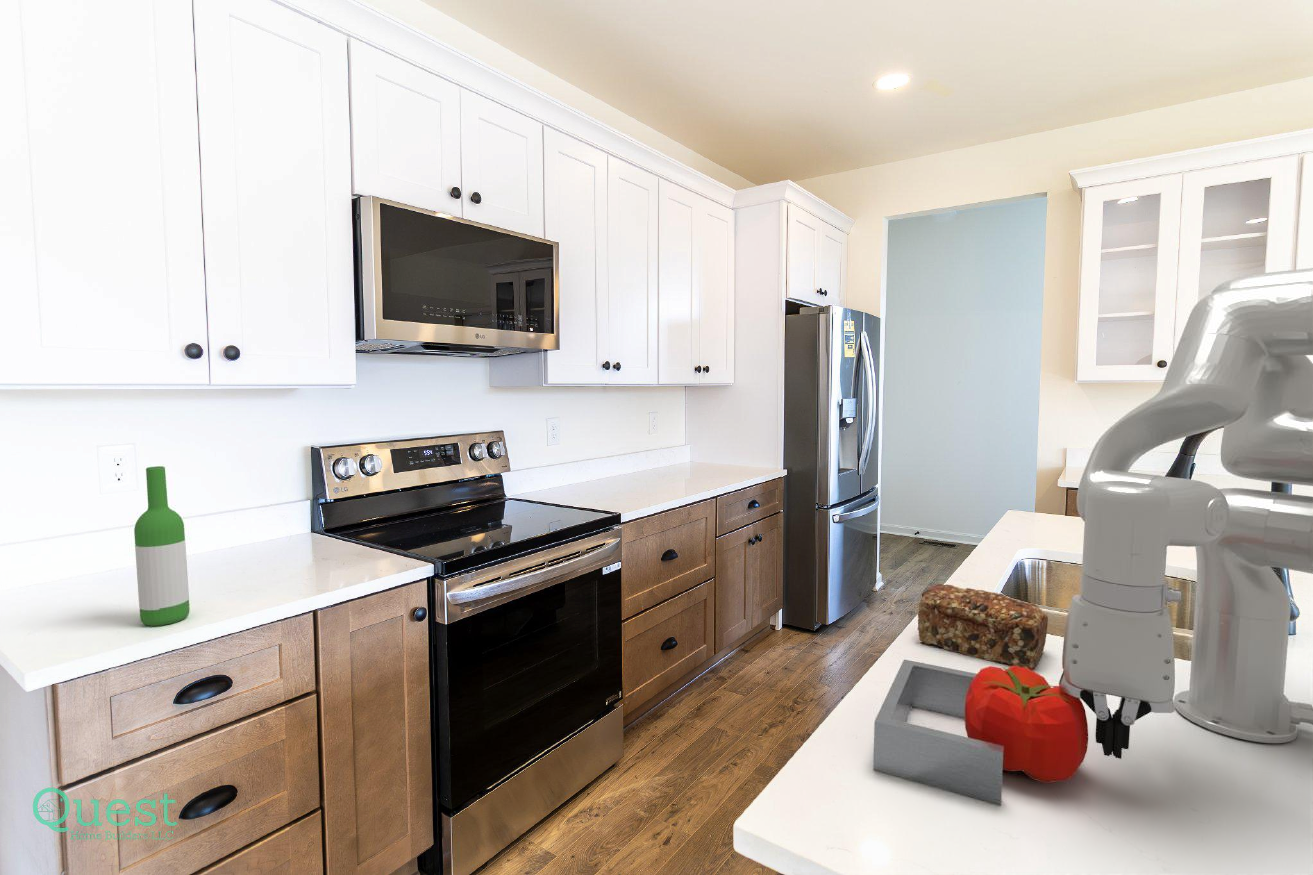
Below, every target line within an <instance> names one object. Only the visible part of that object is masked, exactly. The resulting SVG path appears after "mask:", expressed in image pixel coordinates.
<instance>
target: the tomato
mask: <svg viewBox="0 0 1313 875" xmlns="http://www.w3.org/2000/svg"><path fill="white" fill-rule="evenodd" d="M976 674H977V675H976V676H975V677H974V679H973V681H972V682H971V684H970V687H969V689H968V692H967V695H966V702H965V718H964V726H965V727H964V728H965V731H966V735H967V736H966V737H968V738H972V739H976V740H980V741H984V742H989V743H993V744H997V745H1001V746H1004V753H1003V770H1004V771H1007V772H1016V771H1017V772H1018V771H1019V772H1020V771H1022V772H1023V773H1025V775H1027V776H1028V777H1030V778H1031V779H1032V780H1034V781H1038V782H1041V783H1047V784H1048V783H1056V782H1064V781H1067V780H1069V779H1070V778H1072V777H1074V775H1075V774H1076V772H1077V770H1078V769H1079V767H1080V766H1081V765H1082V763H1083V762H1084V760H1085V758H1086V754H1087V752H1088V746H1089V745H1088V744H1089V725H1088V724H1089V723H1088V719H1087V713H1086V709H1085V705H1084V702H1082V699H1080V698H1078V697H1077V698H1076V697H1074V696H1071V695H1069V694H1066V693H1064V692H1062V691H1061V690H1060V688H1059V685H1050V684H1049V682H1048V680H1046V679H1045V677H1044V676H1042V675H1040V674H1039V673H1037V672H1035V671H1033V670H1032V669H1028V668H1023V667H1019V666H1016V665H1011V666H1010V667H1008V668H1005V667H996V666H991V665H990V666H987V667H983V668H981V669H980V670H979V671H978V672H977V673H976Z"/></svg>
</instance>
